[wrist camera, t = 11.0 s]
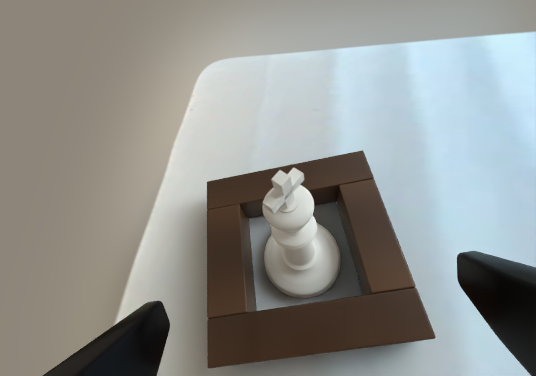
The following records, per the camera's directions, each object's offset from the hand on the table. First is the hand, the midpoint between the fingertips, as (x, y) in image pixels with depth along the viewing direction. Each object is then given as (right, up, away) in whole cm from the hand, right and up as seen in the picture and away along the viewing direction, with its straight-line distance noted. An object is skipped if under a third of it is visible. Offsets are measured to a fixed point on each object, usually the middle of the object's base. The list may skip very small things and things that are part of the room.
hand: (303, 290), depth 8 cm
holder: (+1, -1, +9) cm, 9 cm away
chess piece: (+1, -2, +9) cm, 9 cm away
